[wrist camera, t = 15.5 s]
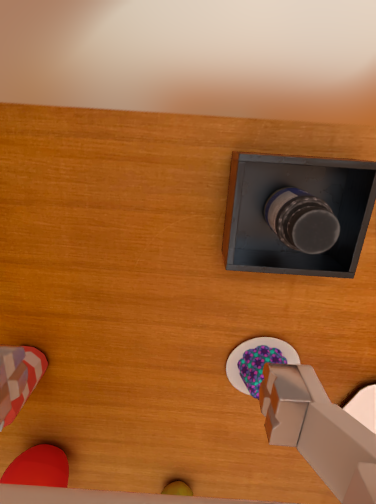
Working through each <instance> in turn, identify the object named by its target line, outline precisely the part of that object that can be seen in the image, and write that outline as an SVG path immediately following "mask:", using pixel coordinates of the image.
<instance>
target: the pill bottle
mask: <svg viewBox="0 0 376 504" xmlns="http://www.w3.org/2000/svg"><path fill="white" fill-rule="evenodd" d="M263 214H264V218H265V220H266V222H267V224H268V225H269V227H270V228H271V229H272V230H273V232H274V233H275V234H276V235H277V236H278V237H279V239H280V240H281V241H282V242H283V243H284V244H285V245H286V246H287V247H289V248H291V249H294V250H299V251H302V252H304V253H307V254H319V253H323V252H325V251H326V250H328V249H330V248H331V247H332V246H333V245H334V244H335V242H336V241H337V239H338V237H339V233H340V225H339V222H338V219H337V218H336V216H335V215H334V214H333V212H332V209H331V208H330V206H329V205H328V204H327V203H326V202H325V201H324V200H322V199H320V198H318V197H316V196H314V195H311V194H309V193H307V192H305V191H303V190H301V189H299V188H295V187H283V188H280V189H278V190H276V191H275V192H273V193H272V194H271V195H270V196H269V197H268V199H267V200H266V202H265V205H264V211H263Z"/></svg>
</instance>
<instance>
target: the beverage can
mask: <svg viewBox="0 0 376 504" xmlns="http://www.w3.org/2000/svg"><path fill="white" fill-rule="evenodd" d="M22 347H24V349H25V354H26V356H25V358H24V359H23V360H22V361H23V362H24V364H25V365H26V366H27V367H28V380H27V383H26V386H25V389H24V391H23V392H22V394H21V395H20V396H19V397H18V398H16V399H15V400H13V401H11V405H12V408H11V410H10V411H9V413H8V414H7V416H6V417H5V419H4V420H3V422H2V423H1V424H0V432H1V431H2V429H3V428H4V427H5V426H7V425H9V424H11V423H12V422H13V420H14V419H15V417H16V416H17V414H18V413H19V411H20V410H21V408H22V407H23V405H24V404H25V402H26V401H27V399H28V397H29V396H30V394H31V393H32V391H33V390H34V388H35V387H36V385H37V384H38V382H39V381H40V379H41V378H42V376H43V375H44V373H45V371H46V368H47V366H48V362H47V360H46V357H45V355H44V354H43V353H42V352H40V351H39V350H37V349H36V348H35V347H28V346H22Z"/></svg>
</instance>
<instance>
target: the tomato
mask: <svg viewBox="0 0 376 504" xmlns="http://www.w3.org/2000/svg"><path fill="white" fill-rule="evenodd" d="M68 477H69V465H68V460H67V457H66V455H65V453H64V452H63V450H61V449H60V448H58V447H55V446H53V445H48V444H40V445H37V446H34V447H32V448H29V449H28V450H26V451H25V452H23V453H22V454H21V455H19V456H18V457H17V458H16V459H15V460H14V461H13V462H12V463H11V464H10V465H9V467H8V468H7V469H6V471H5V472H4V474H3V476H2V478H1V480H0V483H2V484H17V485H32V486H47V487H62V488H67V485H68Z"/></svg>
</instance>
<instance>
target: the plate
mask: <svg viewBox="0 0 376 504" xmlns="http://www.w3.org/2000/svg"><path fill="white" fill-rule="evenodd" d="M342 409H343V410H345V411H346V412H347V413H348V414H350V415H351V416H352V417H354V418H355V419H356V420H358V421H359V422H360V423H361V424H363V425H364V426H365V427H367V428H368V429H369V430H370V431H372V432H373V433H374V434H376V384H371V385H367V386H365V387H363V388H361V389H360V390H359V391H358V392H357V393H356V394H355V395H354V396H353V397H352V398H351V399H350V400H349V401H348V402H347V403H346V404H345V406H344V407H343V408H342Z"/></svg>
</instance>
